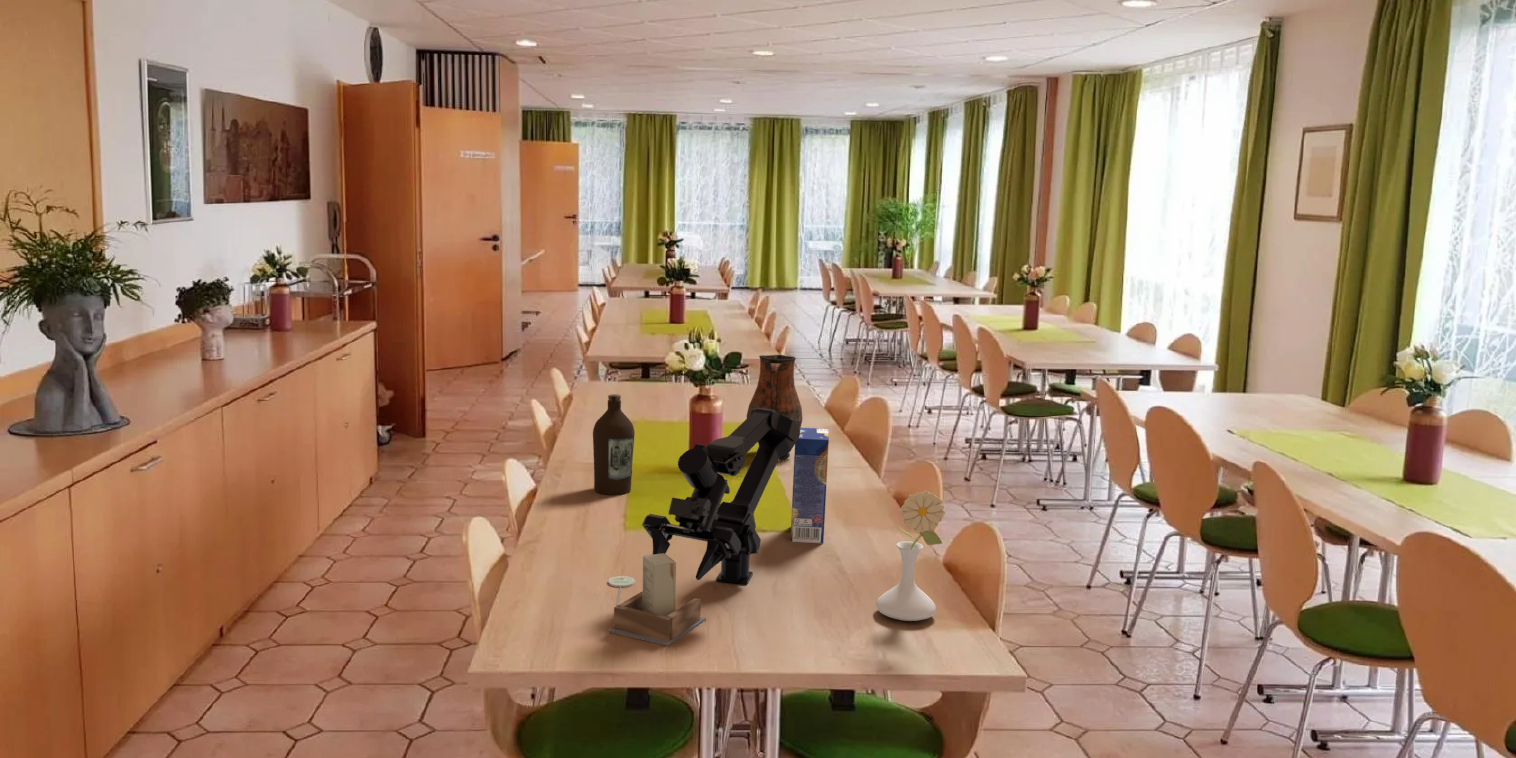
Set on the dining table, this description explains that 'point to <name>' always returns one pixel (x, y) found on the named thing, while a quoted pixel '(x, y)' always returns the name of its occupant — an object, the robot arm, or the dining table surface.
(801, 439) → the juice carton
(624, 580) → the sign
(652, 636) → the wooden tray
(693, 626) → the mat
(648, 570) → the skincare box
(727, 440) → the robot arm
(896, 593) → the flower in vase
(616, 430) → the olive oil
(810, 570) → the dining table surface
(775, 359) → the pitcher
